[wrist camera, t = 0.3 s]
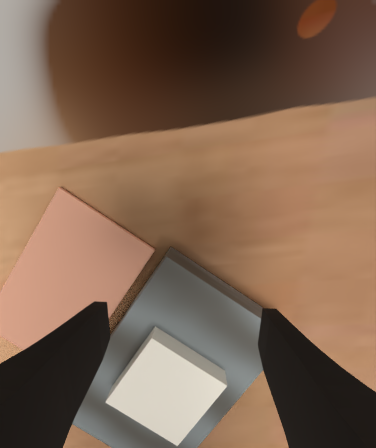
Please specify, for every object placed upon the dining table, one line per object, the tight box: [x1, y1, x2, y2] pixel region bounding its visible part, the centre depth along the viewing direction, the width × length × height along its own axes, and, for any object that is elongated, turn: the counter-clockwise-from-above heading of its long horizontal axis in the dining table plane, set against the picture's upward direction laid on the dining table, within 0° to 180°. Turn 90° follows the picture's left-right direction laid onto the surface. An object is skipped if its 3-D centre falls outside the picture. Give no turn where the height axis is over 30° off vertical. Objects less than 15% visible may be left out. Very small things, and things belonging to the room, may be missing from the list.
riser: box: [72, 247, 263, 448], centre depth 21 cm, size 18×12×3 cm, turn 146°
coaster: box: [105, 326, 227, 446], centre depth 19 cm, size 7×7×2 cm
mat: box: [0, 187, 156, 350], centre depth 22 cm, size 16×10×1 cm, turn 146°
